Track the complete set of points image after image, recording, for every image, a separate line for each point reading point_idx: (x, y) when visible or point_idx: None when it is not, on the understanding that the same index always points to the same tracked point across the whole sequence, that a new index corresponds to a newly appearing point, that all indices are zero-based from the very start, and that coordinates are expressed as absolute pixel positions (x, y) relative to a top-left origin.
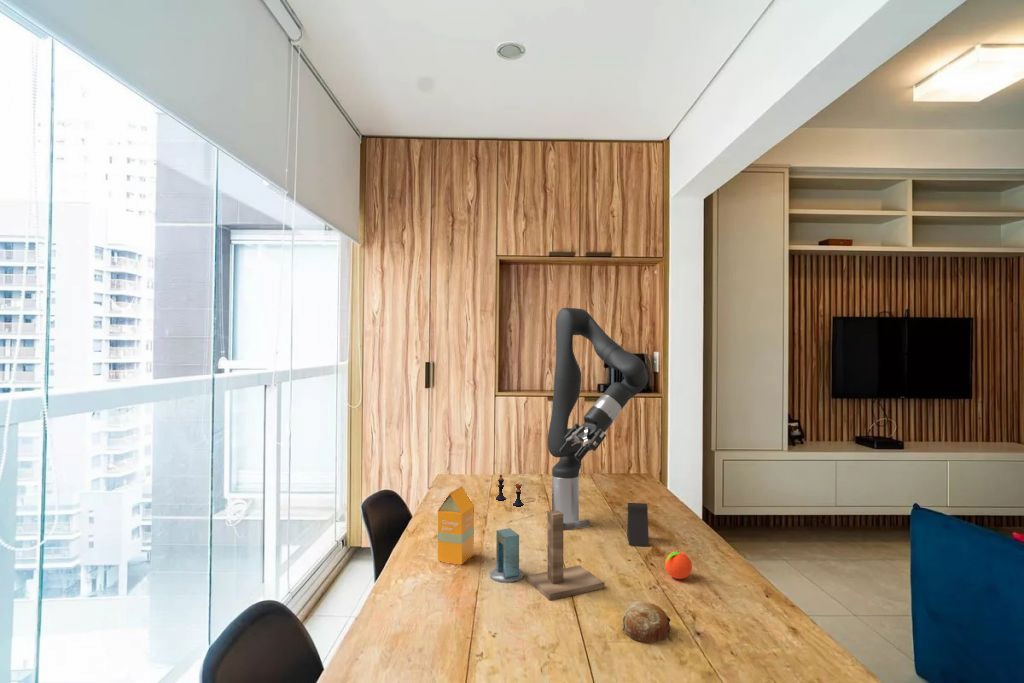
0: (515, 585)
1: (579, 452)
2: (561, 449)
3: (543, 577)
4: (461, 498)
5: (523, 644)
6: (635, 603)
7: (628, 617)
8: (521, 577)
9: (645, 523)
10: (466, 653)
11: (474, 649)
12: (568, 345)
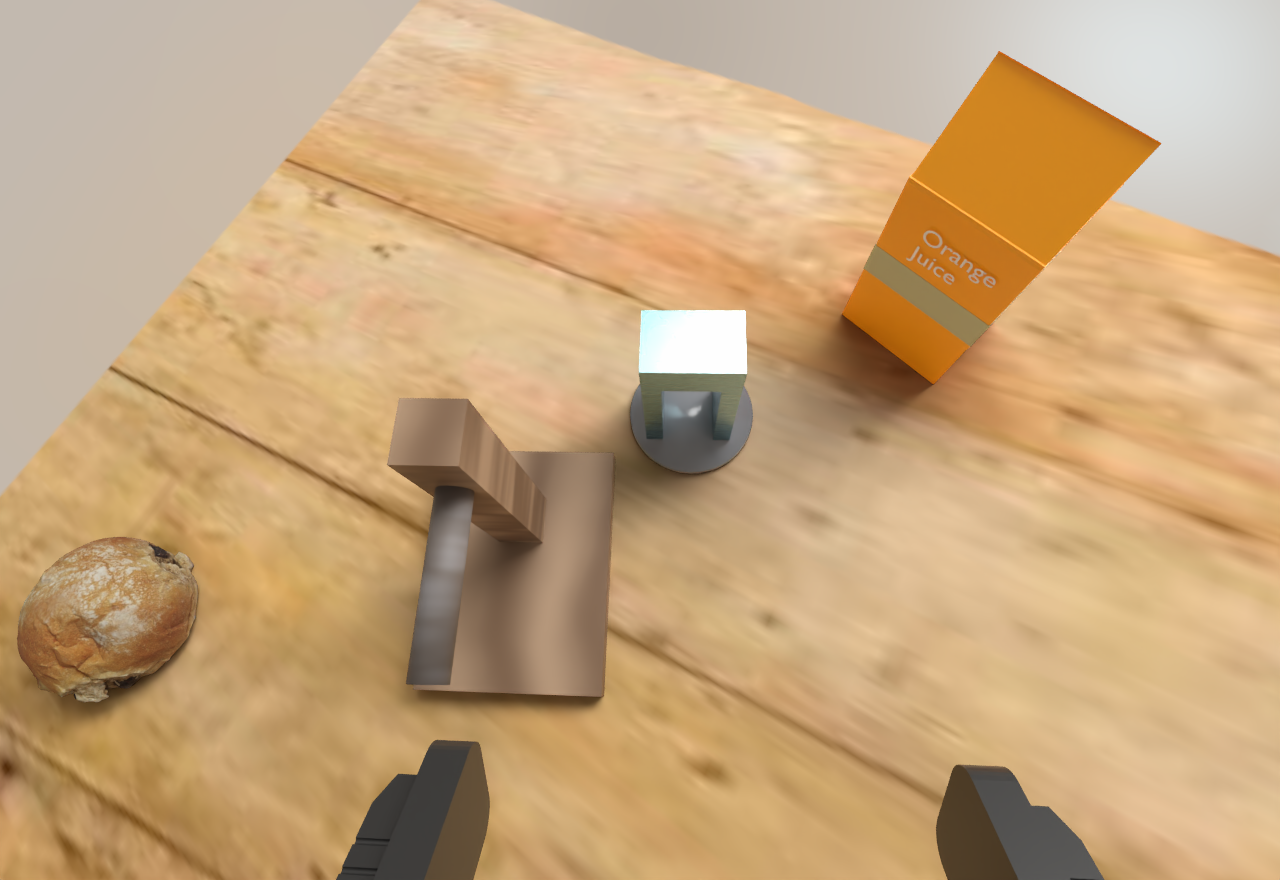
0: (605, 409)
1: (398, 839)
2: (977, 795)
3: (570, 495)
4: (1031, 158)
5: (302, 291)
6: (89, 585)
7: (109, 543)
8: (640, 445)
9: None
10: (350, 178)
11: (353, 196)
12: None
